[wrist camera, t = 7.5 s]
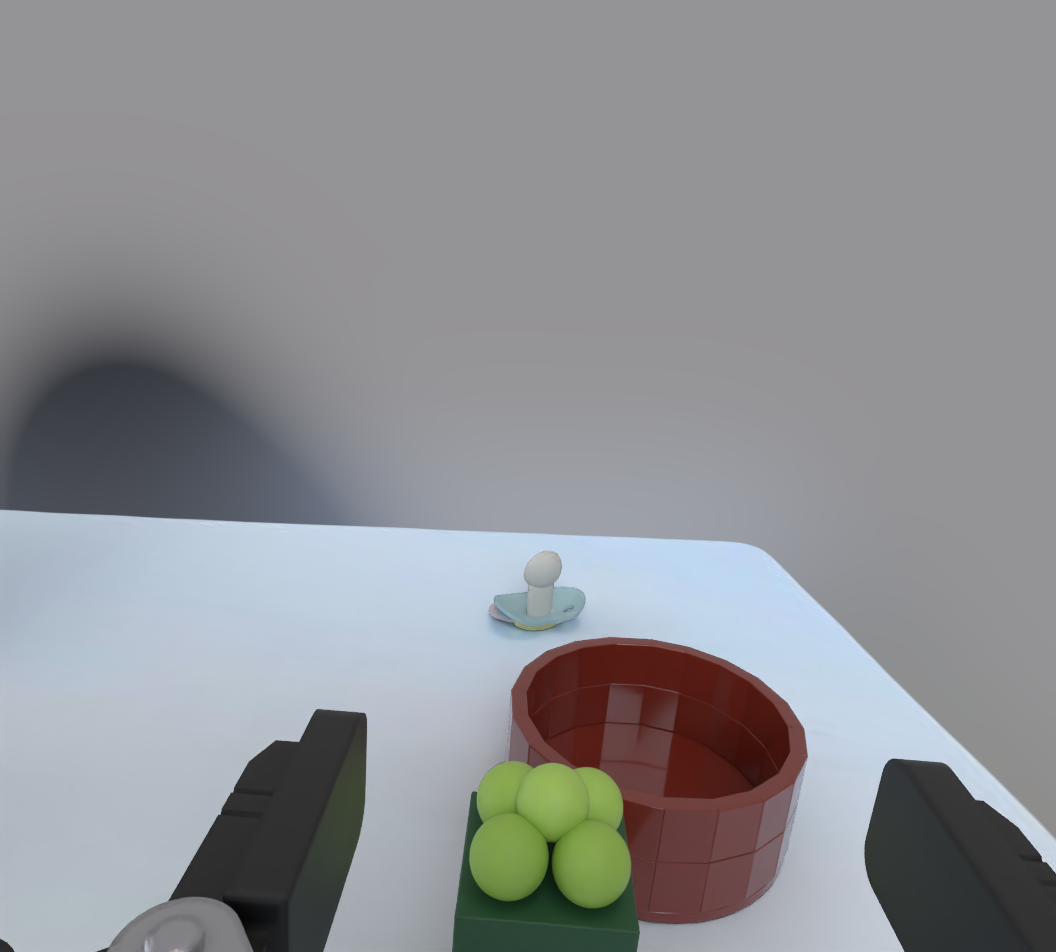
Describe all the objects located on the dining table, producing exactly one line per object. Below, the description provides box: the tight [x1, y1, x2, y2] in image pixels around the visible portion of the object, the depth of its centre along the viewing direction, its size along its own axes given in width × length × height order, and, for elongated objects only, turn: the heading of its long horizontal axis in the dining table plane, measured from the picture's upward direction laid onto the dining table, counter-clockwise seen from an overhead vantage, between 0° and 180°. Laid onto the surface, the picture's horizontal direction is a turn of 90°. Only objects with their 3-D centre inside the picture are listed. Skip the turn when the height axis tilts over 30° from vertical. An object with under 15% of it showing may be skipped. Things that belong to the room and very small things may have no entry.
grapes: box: [452, 761, 640, 952], centre depth 26 cm, size 6×6×12 cm
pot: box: [505, 637, 808, 924], centre depth 40 cm, size 15×15×6 cm
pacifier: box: [489, 551, 585, 631], centre depth 59 cm, size 7×6×6 cm
